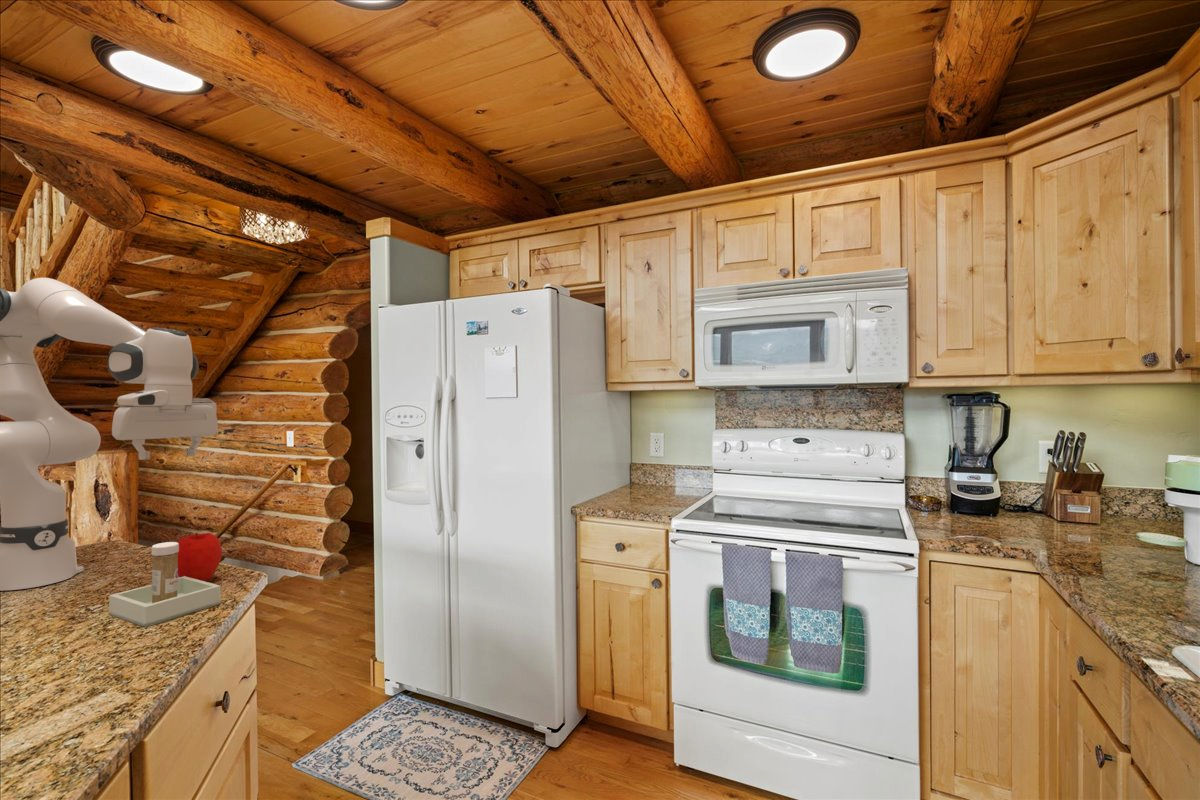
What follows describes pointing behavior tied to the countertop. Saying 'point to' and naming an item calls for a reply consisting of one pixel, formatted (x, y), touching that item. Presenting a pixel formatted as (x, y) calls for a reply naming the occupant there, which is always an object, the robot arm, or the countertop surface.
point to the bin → (164, 602)
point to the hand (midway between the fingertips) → (168, 457)
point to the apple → (199, 556)
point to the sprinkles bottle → (164, 571)
